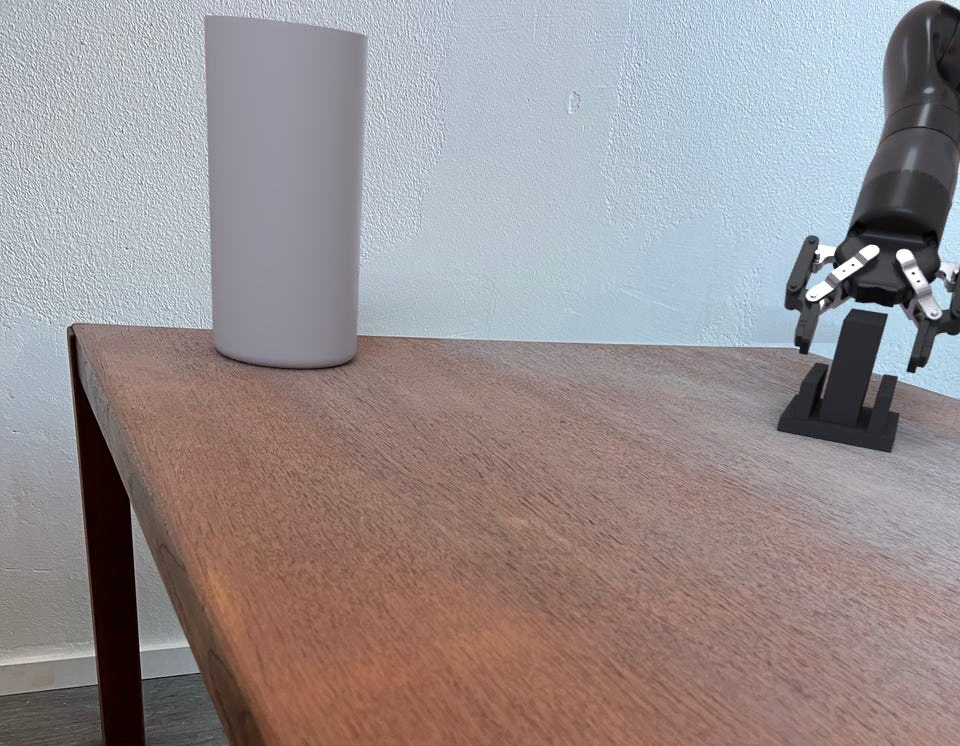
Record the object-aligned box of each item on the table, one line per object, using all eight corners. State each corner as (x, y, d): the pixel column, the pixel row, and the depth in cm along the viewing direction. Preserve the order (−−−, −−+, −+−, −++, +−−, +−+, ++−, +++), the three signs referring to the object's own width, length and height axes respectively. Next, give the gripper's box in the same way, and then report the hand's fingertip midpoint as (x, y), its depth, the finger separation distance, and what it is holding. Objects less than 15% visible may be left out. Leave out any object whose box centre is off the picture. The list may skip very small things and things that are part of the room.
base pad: (792, 406, 89) (804, 360, 87) (896, 426, 87) (910, 378, 85) (776, 430, 81) (789, 379, 79) (890, 452, 78) (906, 400, 76)
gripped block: (827, 401, 87) (851, 308, 83) (862, 408, 86) (888, 313, 83) (817, 420, 80) (843, 319, 77) (855, 427, 80) (883, 325, 76)
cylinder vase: (325, 378, 82) (334, 25, 70) (187, 356, 84) (173, 10, 72) (374, 352, 93) (389, 43, 81) (250, 333, 95) (247, 29, 83)
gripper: (823, 157, 83) (771, 314, 79) (1006, 176, 79) (961, 343, 74) (814, 223, 90) (766, 370, 86) (982, 244, 85) (940, 400, 81)
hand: (857, 357), depth 80 cm, fingers open, 8 cm apart
